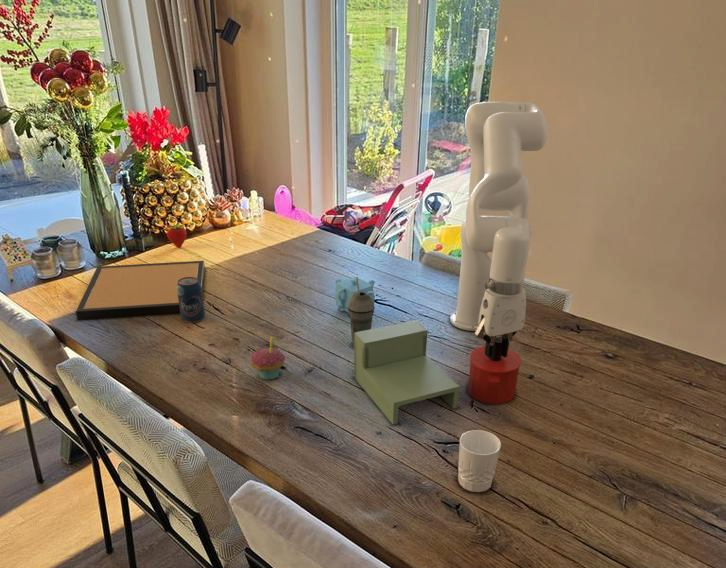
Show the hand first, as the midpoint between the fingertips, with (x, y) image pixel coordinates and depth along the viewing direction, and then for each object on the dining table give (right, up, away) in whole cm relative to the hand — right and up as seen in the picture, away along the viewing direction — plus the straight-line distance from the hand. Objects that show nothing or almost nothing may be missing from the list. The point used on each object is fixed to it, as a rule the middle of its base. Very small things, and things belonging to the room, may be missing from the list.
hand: (495, 355), depth 150 cm
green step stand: (-22, -9, +4) cm, 24 cm away
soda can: (-82, +13, +38) cm, 91 cm away
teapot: (-34, +16, +43) cm, 57 cm away
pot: (0, -8, +5) cm, 10 cm away
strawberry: (-101, +45, +88) cm, 141 cm away
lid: (0, -1, +1) cm, 1 cm away
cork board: (-101, +23, +53) cm, 117 cm away
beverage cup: (-32, +4, +24) cm, 41 cm away
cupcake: (-56, -5, +11) cm, 57 cm away
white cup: (-9, -27, -23) cm, 36 cm away
